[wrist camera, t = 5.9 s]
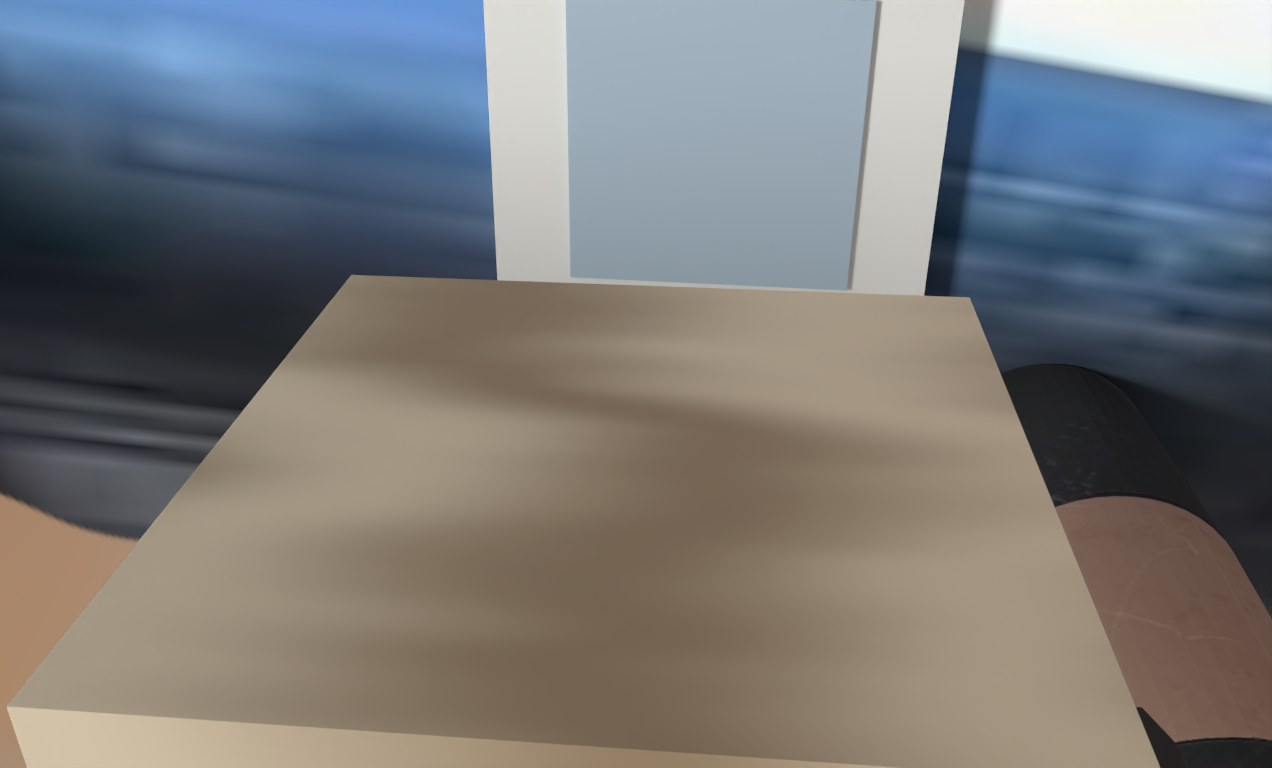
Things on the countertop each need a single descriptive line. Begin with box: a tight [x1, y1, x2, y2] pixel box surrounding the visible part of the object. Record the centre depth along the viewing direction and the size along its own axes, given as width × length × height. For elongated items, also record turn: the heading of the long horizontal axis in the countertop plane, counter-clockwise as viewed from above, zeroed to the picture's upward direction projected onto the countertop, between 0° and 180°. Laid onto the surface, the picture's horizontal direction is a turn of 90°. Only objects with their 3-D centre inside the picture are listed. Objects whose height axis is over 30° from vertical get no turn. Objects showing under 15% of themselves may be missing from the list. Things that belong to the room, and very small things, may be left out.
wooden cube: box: [7, 275, 1160, 768], centre depth 13 cm, size 8×8×8 cm
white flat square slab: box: [483, 0, 965, 296], centre depth 36 cm, size 14×14×1 cm
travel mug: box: [1001, 364, 1272, 768], centre depth 32 cm, size 8×8×20 cm
